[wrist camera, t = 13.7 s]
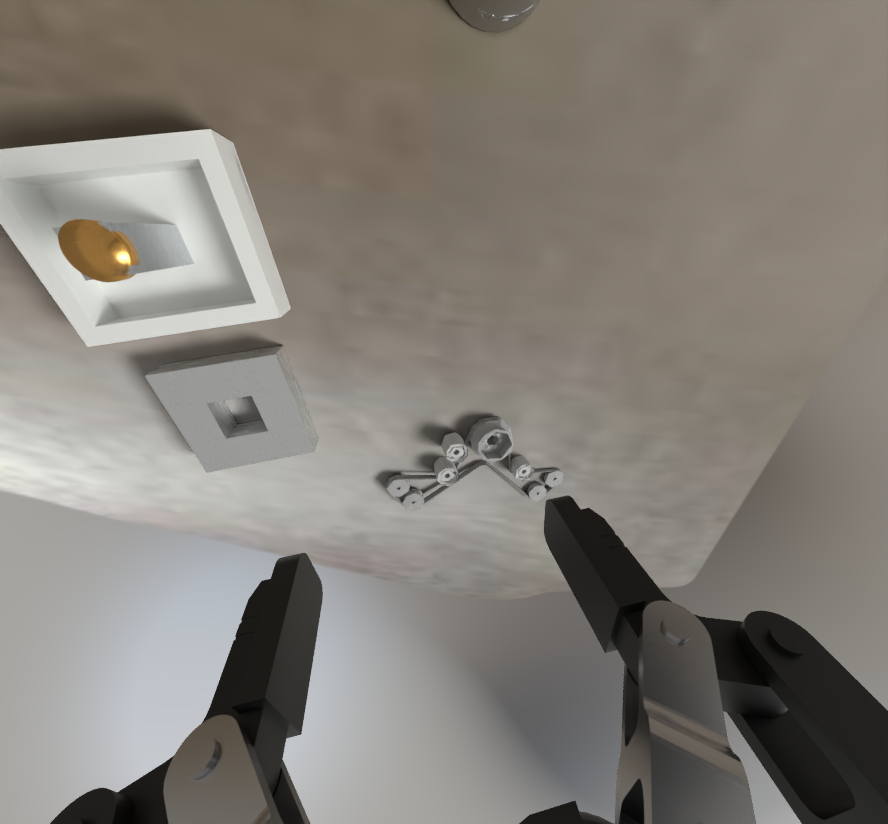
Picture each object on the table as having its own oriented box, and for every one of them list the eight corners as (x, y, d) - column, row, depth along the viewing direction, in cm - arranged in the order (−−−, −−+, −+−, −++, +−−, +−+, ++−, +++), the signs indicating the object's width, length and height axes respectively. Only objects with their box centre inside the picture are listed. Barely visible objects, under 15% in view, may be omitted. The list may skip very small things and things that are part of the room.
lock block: (163, 364, 32) (144, 375, 30) (283, 345, 34) (275, 354, 31) (218, 456, 39) (206, 472, 36) (318, 437, 40) (314, 451, 37)
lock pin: (131, 225, 26) (42, 222, 19) (178, 220, 26) (107, 215, 20) (156, 272, 28) (83, 286, 21) (199, 267, 28) (141, 278, 21)
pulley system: (387, 411, 41) (385, 502, 47) (390, 429, 37) (386, 526, 43) (574, 410, 47) (550, 491, 54) (594, 425, 43) (565, 511, 49)
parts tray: (12, 165, 24) (-50, 153, 21) (233, 143, 25) (210, 129, 22) (120, 334, 31) (87, 346, 27) (290, 308, 32) (280, 317, 29)
